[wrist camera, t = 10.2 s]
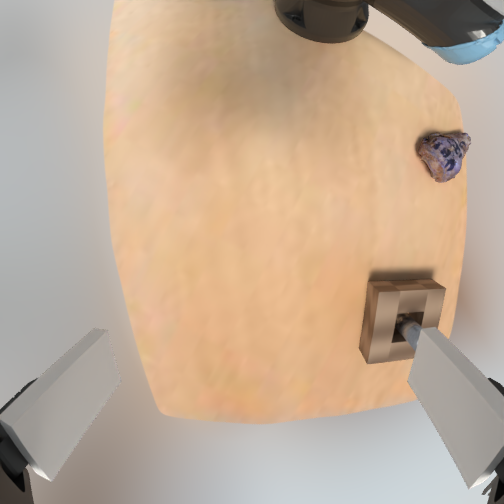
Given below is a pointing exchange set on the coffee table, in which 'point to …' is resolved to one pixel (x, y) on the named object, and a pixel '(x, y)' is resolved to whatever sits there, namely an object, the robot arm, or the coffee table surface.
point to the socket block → (385, 312)
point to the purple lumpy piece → (444, 154)
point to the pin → (408, 329)
